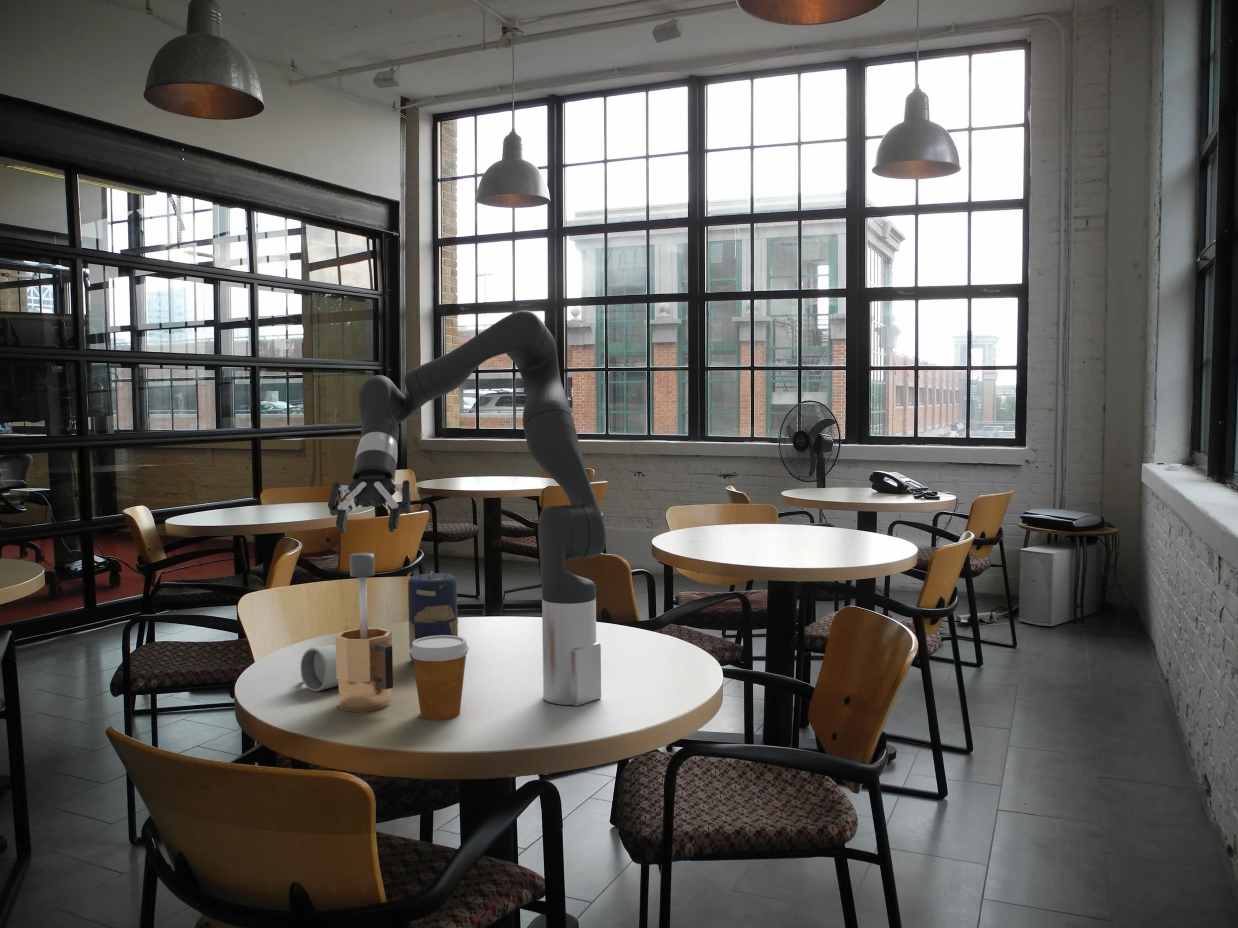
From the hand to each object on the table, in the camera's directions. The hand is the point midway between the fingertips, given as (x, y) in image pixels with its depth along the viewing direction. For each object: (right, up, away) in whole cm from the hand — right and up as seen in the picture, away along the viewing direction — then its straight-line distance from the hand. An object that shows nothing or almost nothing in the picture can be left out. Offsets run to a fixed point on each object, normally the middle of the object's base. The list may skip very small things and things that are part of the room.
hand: (366, 530), depth 166 cm
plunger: (+1, -19, -7) cm, 20 cm away
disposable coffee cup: (+15, -29, -12) cm, 35 cm away
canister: (+8, -28, +22) cm, 36 cm away
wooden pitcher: (+3, -29, -7) cm, 30 cm away
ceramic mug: (-9, -29, +5) cm, 31 cm away
